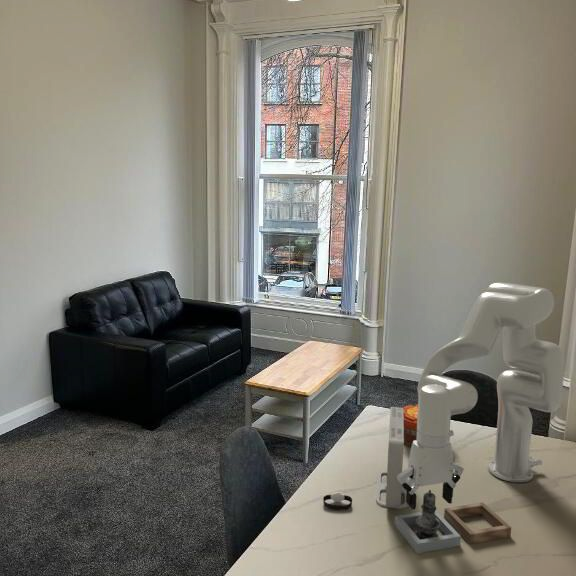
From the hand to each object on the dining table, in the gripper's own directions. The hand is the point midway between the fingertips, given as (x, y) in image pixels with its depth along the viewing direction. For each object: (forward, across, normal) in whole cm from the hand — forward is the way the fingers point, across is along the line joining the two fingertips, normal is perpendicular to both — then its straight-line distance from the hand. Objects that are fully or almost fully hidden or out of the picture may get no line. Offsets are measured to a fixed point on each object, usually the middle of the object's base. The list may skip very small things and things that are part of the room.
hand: (429, 503), depth 133 cm
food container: (+9, -24, -46) cm, 53 cm away
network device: (+9, -1, -21) cm, 23 cm away
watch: (+9, +17, -17) cm, 26 cm away
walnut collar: (+8, -14, 0) cm, 16 cm away
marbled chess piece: (+8, 0, 0) cm, 9 cm away
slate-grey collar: (+8, 0, 0) cm, 8 cm away
